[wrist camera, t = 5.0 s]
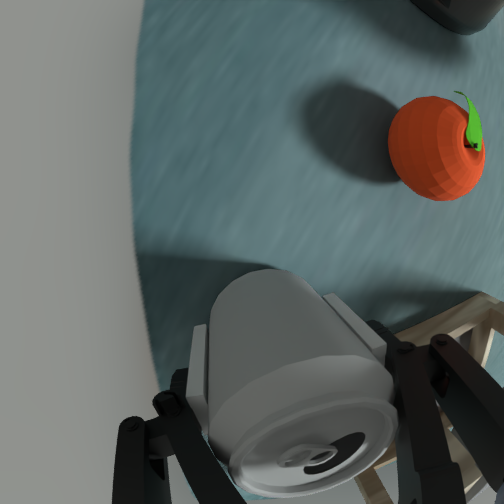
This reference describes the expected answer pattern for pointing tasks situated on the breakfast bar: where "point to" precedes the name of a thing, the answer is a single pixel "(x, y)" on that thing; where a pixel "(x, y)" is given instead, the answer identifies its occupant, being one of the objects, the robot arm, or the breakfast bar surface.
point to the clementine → (437, 147)
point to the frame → (478, 346)
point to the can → (292, 389)
